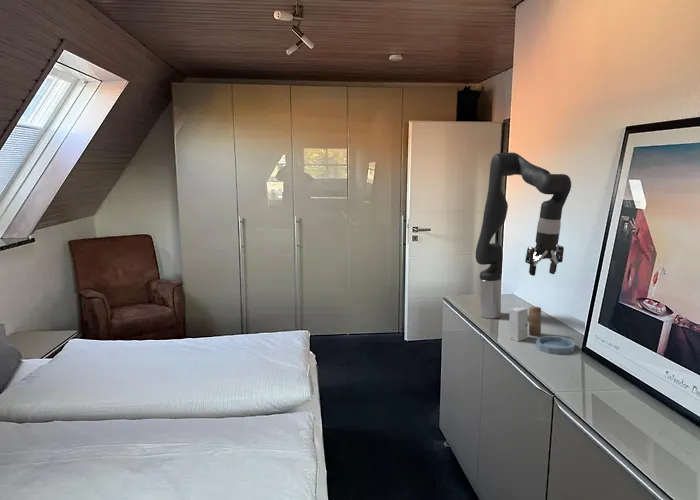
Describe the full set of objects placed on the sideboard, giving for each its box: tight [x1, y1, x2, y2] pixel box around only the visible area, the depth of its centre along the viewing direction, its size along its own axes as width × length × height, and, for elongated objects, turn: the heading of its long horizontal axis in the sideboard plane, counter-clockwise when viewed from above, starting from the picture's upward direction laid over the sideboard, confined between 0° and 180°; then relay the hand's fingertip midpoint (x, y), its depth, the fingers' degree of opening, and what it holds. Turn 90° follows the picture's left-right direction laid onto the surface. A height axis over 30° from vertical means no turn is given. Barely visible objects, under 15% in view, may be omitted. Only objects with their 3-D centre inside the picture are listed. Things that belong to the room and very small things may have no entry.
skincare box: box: [508, 306, 529, 342], centre depth 192 cm, size 6×4×12 cm
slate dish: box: [535, 335, 576, 355], centre depth 182 cm, size 13×13×2 cm
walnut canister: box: [528, 306, 542, 337], centre depth 196 cm, size 4×4×11 cm
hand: (542, 274), depth 178 cm, fingers open, 8 cm apart
